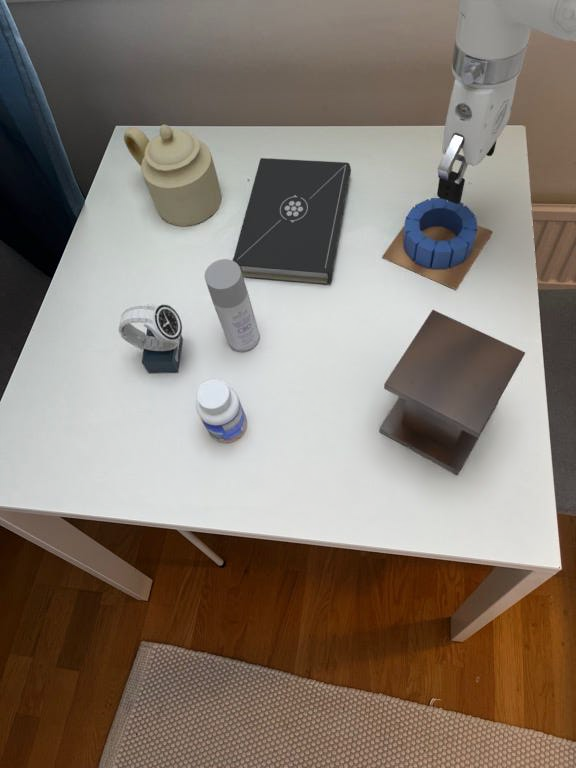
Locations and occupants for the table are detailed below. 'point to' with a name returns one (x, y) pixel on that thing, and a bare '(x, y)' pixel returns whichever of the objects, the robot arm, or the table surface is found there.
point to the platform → (447, 389)
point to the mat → (442, 276)
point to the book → (293, 221)
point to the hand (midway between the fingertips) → (465, 175)
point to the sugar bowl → (177, 174)
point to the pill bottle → (220, 410)
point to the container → (232, 304)
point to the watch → (155, 336)
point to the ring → (439, 216)
